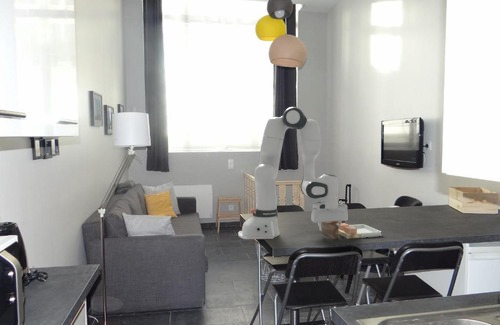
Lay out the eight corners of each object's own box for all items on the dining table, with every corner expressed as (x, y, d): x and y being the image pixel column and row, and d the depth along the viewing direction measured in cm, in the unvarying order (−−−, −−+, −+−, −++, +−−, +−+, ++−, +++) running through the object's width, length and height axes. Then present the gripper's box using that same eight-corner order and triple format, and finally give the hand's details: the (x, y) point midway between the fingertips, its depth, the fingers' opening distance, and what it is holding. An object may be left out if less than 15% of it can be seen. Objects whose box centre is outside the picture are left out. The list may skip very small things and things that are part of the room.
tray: (362, 237, 185) (362, 233, 185) (344, 229, 203) (344, 225, 203) (382, 236, 188) (382, 231, 188) (363, 228, 206) (363, 224, 206)
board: (347, 238, 184) (347, 234, 184) (332, 231, 200) (332, 227, 200) (360, 237, 186) (361, 233, 186) (345, 230, 202) (345, 226, 202)
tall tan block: (333, 239, 184) (333, 226, 183) (321, 232, 197) (321, 220, 197) (338, 239, 184) (338, 225, 184) (326, 232, 198) (326, 219, 197)
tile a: (340, 230, 194) (340, 225, 194) (336, 227, 199) (336, 223, 198) (349, 229, 195) (349, 225, 195) (344, 227, 200) (344, 222, 200)
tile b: (348, 233, 186) (348, 229, 186) (343, 231, 191) (343, 226, 191) (356, 233, 187) (357, 228, 187) (351, 230, 192) (352, 226, 192)
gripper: (344, 202, 195) (344, 227, 196) (309, 204, 190) (309, 229, 191) (350, 204, 189) (350, 229, 190) (314, 206, 184) (314, 232, 185)
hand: (329, 229), depth 190 cm, fingers open, 8 cm apart
